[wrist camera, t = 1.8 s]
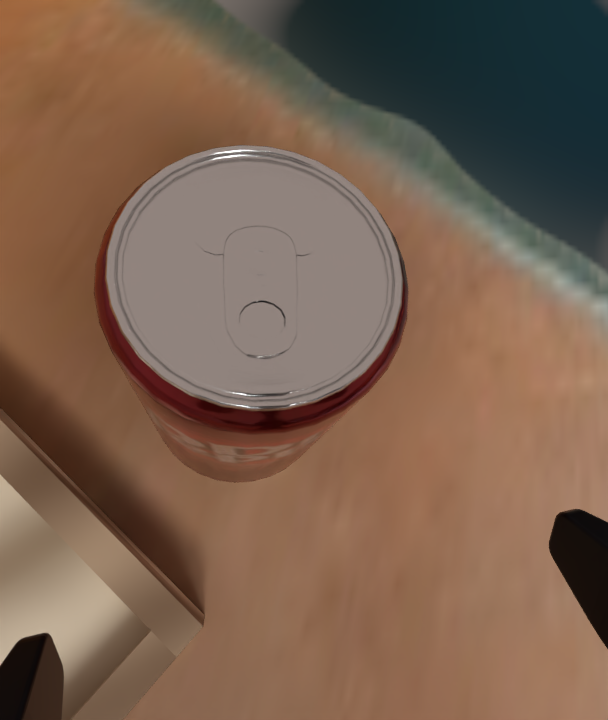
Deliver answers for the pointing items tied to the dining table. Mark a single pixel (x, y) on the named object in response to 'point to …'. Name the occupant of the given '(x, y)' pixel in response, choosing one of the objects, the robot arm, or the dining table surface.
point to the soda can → (249, 305)
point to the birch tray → (82, 587)
